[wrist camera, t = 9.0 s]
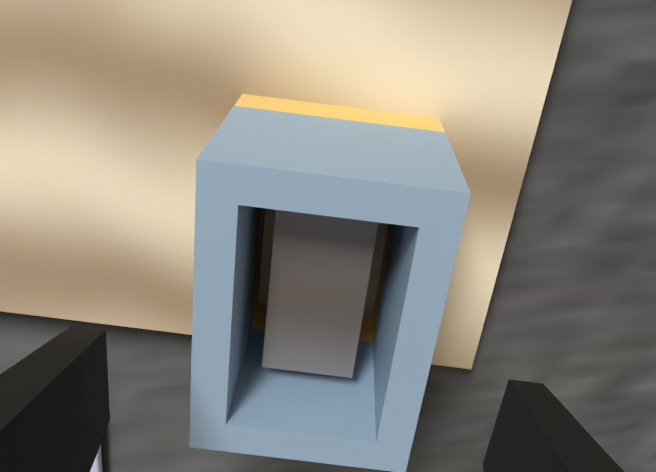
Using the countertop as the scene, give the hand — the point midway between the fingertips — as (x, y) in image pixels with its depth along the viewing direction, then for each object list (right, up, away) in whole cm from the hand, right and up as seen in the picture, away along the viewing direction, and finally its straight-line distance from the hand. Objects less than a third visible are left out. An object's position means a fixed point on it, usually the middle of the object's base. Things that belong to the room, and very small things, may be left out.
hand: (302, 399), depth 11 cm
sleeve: (0, +3, +6) cm, 7 cm away
